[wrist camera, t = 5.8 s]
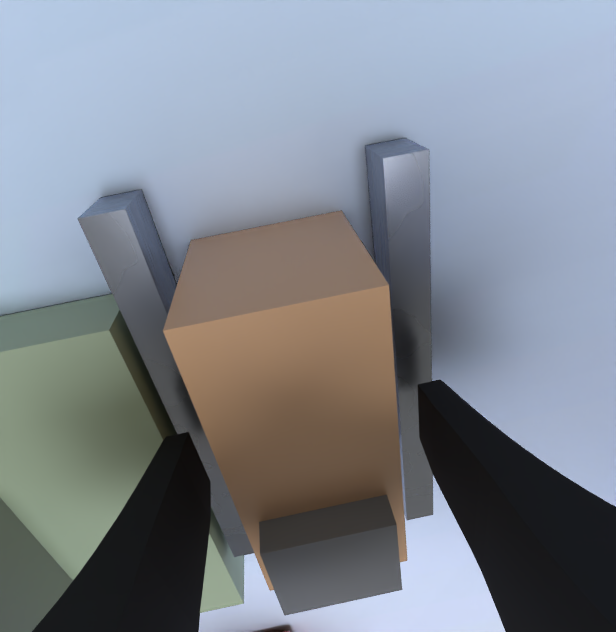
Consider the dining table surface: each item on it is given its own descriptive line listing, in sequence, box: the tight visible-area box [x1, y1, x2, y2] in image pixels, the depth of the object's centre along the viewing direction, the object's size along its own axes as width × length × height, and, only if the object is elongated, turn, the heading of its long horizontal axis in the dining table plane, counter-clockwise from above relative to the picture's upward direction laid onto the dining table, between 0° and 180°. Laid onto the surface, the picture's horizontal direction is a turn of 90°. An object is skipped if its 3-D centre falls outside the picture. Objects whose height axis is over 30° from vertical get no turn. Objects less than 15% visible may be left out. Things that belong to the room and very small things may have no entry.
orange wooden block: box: [163, 210, 407, 615], centre depth 11 cm, size 9×4×5 cm, turn 9°
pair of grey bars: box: [78, 138, 433, 557], centre depth 13 cm, size 13×8×2 cm, turn 9°
